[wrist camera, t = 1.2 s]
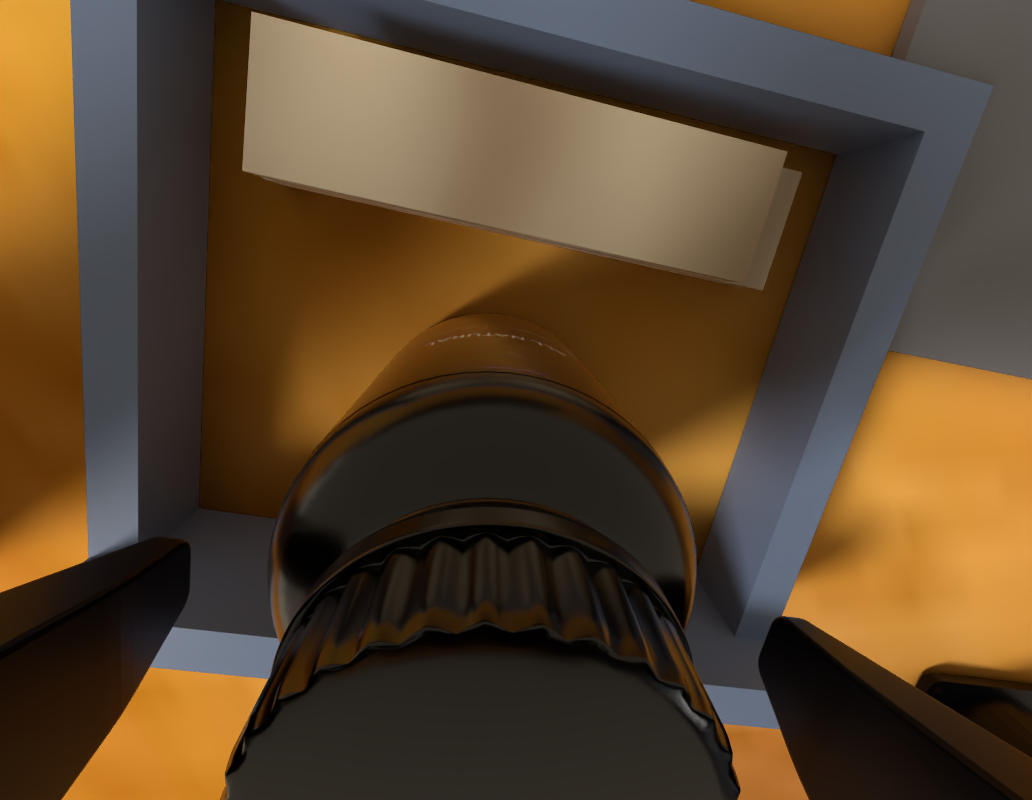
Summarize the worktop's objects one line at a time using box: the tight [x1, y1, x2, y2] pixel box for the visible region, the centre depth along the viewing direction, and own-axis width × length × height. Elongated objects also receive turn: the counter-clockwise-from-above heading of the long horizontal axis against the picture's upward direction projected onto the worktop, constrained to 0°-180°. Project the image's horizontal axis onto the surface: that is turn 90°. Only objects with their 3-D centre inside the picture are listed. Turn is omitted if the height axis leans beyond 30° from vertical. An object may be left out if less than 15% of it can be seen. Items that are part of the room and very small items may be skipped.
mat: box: [888, 0, 1032, 379], centre depth 15 cm, size 10×10×1 cm
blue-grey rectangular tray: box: [70, 0, 994, 729], centre depth 13 cm, size 19×16×5 cm
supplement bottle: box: [220, 313, 740, 800], centre depth 10 cm, size 7×7×12 cm
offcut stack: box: [242, 11, 803, 290], centre depth 13 cm, size 13×3×4 cm, turn 78°
